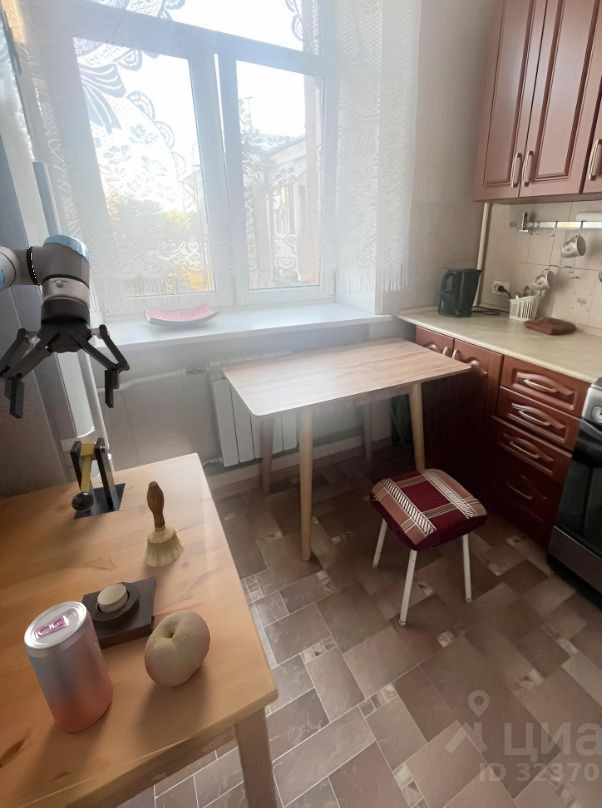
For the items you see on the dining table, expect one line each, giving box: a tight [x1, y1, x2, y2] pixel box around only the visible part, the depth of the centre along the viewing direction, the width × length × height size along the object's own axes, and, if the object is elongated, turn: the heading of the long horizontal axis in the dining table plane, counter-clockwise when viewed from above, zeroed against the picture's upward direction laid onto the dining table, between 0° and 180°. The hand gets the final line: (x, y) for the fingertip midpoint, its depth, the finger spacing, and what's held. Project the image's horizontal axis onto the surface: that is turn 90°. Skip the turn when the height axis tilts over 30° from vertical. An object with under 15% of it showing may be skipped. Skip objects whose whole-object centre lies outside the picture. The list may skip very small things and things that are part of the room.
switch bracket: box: [69, 437, 126, 520], centre depth 81 cm, size 10×8×15 cm
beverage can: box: [23, 601, 114, 733], centre depth 46 cm, size 6×6×15 cm
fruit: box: [143, 609, 211, 688], centre depth 53 cm, size 8×8×8 cm
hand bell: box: [142, 480, 185, 567], centre depth 69 cm, size 8×8×16 cm
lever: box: [70, 442, 97, 512], centre depth 76 cm, size 14×4×4 cm, turn 22°
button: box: [98, 583, 128, 613], centre depth 58 cm, size 4×4×2 cm
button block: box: [80, 576, 157, 651], centre depth 59 cm, size 10×9×4 cm
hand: (64, 410), depth 68 cm, fingers open, 13 cm apart
